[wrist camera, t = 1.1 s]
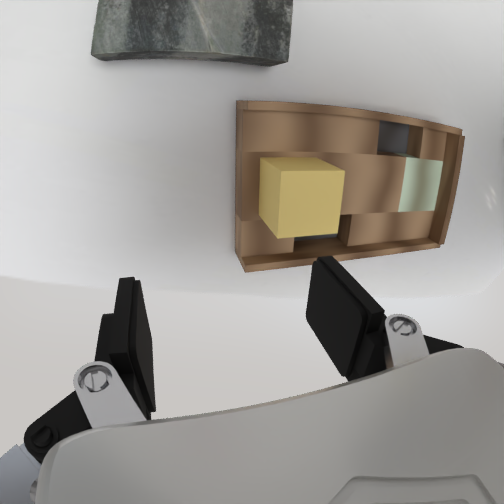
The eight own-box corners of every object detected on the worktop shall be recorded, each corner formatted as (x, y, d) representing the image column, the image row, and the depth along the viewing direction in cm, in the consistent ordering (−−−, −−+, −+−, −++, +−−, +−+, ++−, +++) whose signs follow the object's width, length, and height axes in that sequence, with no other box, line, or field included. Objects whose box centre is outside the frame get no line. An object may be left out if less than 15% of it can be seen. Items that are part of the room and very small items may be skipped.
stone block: (116, -27, 17) (108, -51, 12) (278, -16, 21) (300, -35, 16) (101, 62, 21) (87, 53, 16) (268, 69, 25) (290, 63, 20)
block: (315, 157, 27) (345, 170, 22) (311, 211, 29) (337, 233, 25) (260, 157, 25) (281, 171, 21) (258, 214, 28) (277, 238, 23)
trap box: (438, 123, 31) (465, 130, 27) (419, 233, 37) (442, 249, 33) (236, 100, 25) (249, 100, 21) (235, 252, 32) (246, 275, 28)
